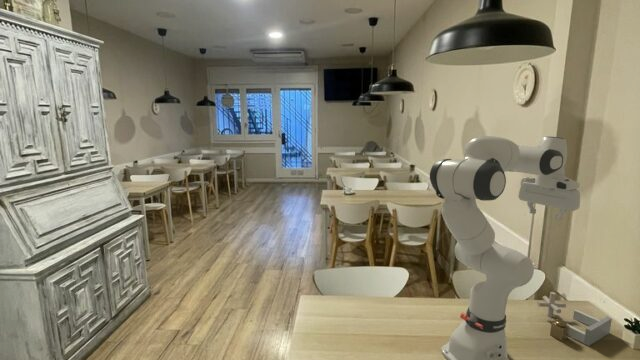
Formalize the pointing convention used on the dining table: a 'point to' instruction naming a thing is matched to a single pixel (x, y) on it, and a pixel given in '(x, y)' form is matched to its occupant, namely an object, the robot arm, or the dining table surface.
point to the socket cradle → (589, 328)
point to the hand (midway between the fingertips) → (545, 216)
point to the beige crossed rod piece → (551, 304)
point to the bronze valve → (559, 330)
